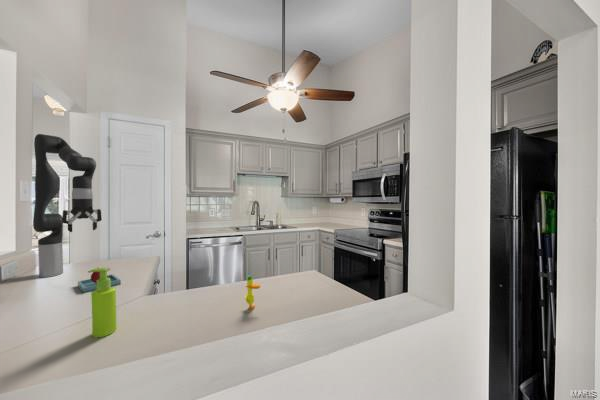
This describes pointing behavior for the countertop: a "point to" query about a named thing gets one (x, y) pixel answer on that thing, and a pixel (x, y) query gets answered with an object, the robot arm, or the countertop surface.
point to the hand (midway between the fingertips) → (82, 230)
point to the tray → (91, 286)
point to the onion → (95, 276)
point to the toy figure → (250, 291)
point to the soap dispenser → (103, 305)
